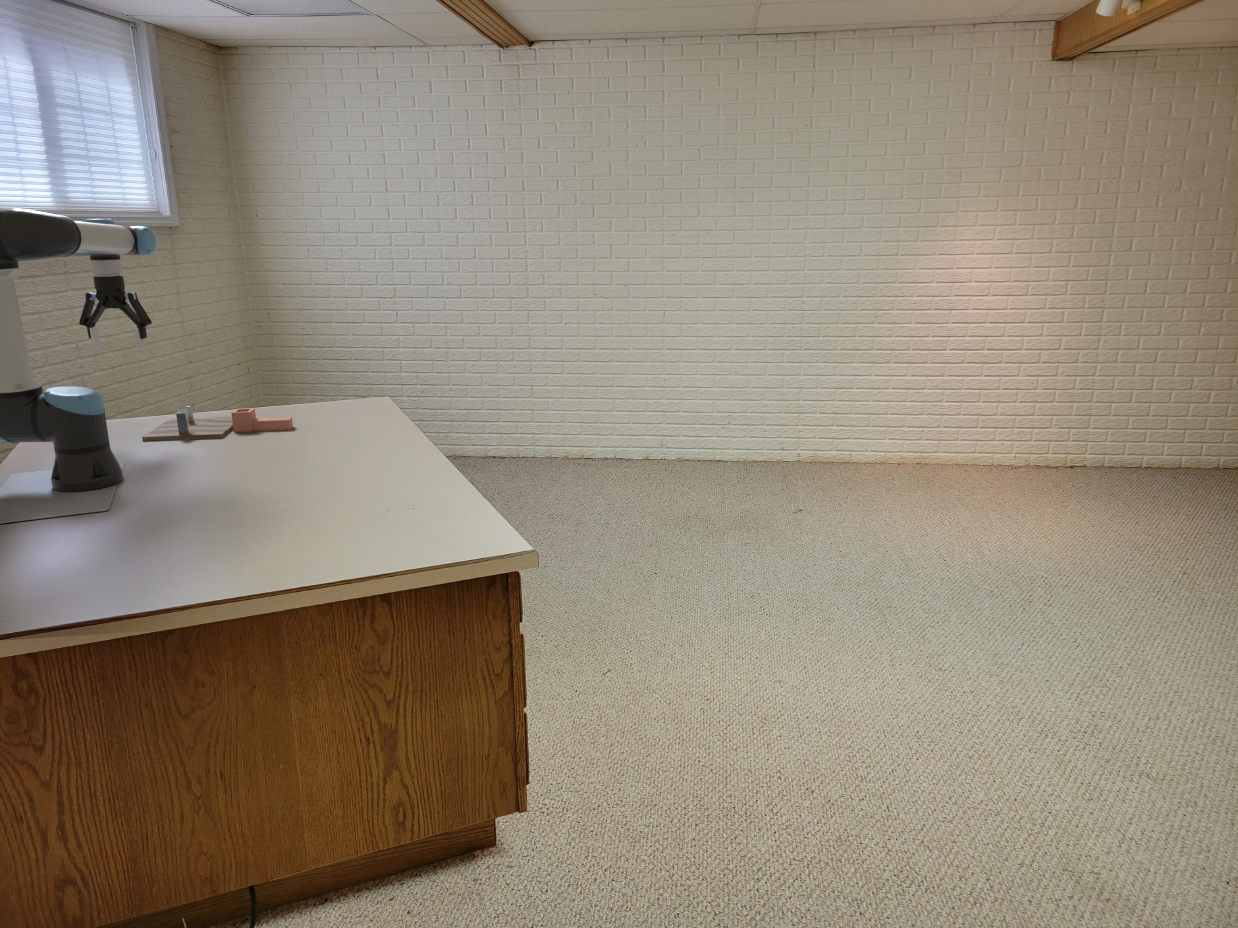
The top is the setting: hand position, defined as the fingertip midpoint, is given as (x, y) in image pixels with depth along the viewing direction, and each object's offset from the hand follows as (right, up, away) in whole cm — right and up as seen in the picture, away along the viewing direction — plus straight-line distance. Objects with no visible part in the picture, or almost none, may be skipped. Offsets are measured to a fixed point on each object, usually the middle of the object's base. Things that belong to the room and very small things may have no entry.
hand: (119, 350), depth 258 cm
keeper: (+16, -25, +6) cm, 30 cm away
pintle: (+12, -21, +18) cm, 31 cm away
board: (+16, -23, +13) cm, 30 cm away
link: (+36, -22, +14) cm, 45 cm away
